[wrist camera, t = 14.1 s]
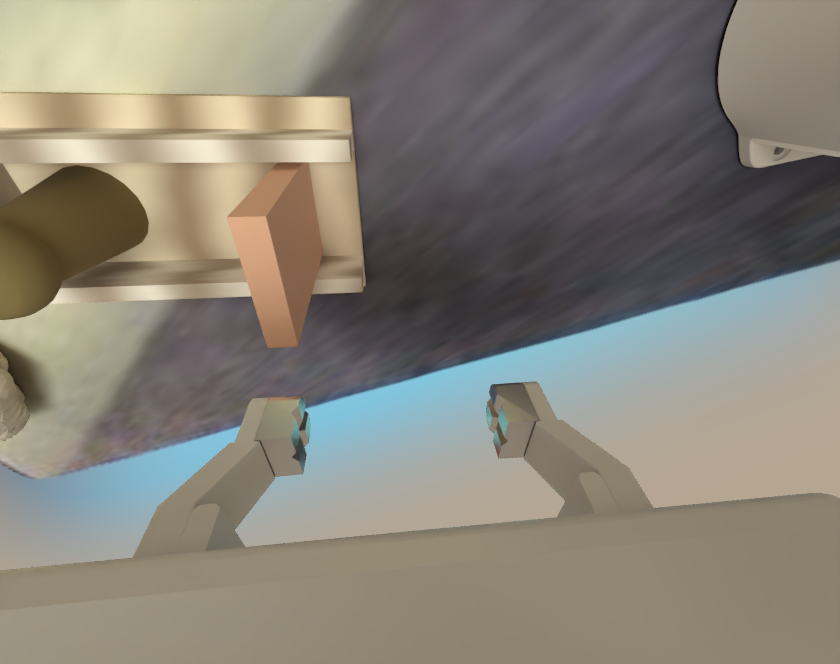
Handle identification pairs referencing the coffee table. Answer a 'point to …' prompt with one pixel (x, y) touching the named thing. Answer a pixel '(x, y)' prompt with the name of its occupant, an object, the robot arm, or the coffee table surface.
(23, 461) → the coffee table surface
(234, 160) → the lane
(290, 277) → the block
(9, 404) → the fossil replica
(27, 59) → the coffee table surface
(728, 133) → the coffee table surface
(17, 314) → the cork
